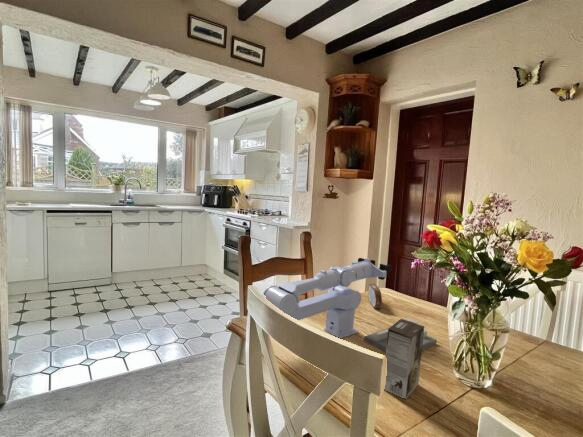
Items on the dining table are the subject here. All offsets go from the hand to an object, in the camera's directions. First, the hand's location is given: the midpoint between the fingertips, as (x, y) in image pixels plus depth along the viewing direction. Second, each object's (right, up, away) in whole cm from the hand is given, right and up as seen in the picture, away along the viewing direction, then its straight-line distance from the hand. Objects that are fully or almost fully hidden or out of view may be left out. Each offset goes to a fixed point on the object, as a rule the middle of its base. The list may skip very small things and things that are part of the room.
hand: (382, 265), depth 125 cm
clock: (+1, -20, +20) cm, 28 cm away
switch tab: (+5, -22, -13) cm, 26 cm away
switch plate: (+2, -24, -15) cm, 28 cm away
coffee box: (-7, -26, -40) cm, 48 cm away
